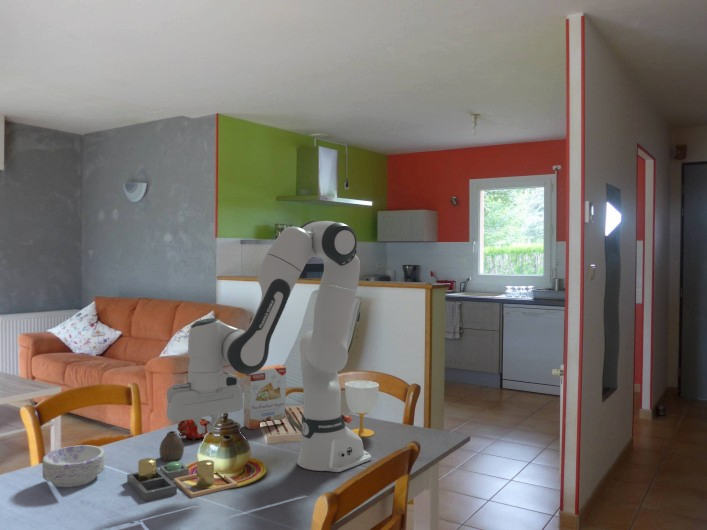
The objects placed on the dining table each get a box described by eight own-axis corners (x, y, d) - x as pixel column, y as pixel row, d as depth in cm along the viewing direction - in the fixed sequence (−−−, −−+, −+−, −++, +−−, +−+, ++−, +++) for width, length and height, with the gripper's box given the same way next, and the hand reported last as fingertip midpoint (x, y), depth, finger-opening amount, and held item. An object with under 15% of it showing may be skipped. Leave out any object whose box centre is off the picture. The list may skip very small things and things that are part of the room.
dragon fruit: (173, 445, 199) (209, 445, 205) (180, 435, 193) (217, 436, 199) (173, 420, 204) (208, 421, 210) (180, 410, 198) (216, 411, 204)
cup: (357, 426, 217) (357, 378, 217) (384, 432, 210) (385, 383, 210) (337, 434, 208) (338, 384, 207) (365, 440, 201) (366, 389, 200)
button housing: (180, 472, 171) (180, 461, 171) (188, 479, 166) (188, 468, 166) (159, 477, 168) (159, 466, 168) (167, 484, 163) (167, 473, 163)
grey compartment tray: (157, 478, 166) (157, 468, 166) (176, 497, 154) (176, 486, 154) (127, 485, 161) (127, 474, 161) (145, 505, 149) (145, 493, 149)
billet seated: (152, 478, 164) (152, 456, 163) (158, 484, 160) (158, 461, 160) (136, 482, 161) (136, 460, 161) (141, 487, 158) (141, 465, 157)
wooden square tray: (217, 475, 170) (217, 468, 170) (237, 489, 159) (237, 483, 159) (173, 485, 162) (173, 478, 162) (191, 501, 152) (191, 494, 152)
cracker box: (250, 430, 211) (250, 370, 210) (243, 426, 216) (243, 367, 215) (286, 424, 219) (286, 366, 218) (278, 420, 224) (278, 363, 223)
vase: (176, 466, 176) (176, 436, 175) (155, 464, 177) (155, 434, 177) (187, 458, 182) (188, 429, 182) (166, 456, 184) (166, 427, 184)
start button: (178, 471, 170) (178, 460, 170) (183, 475, 167) (183, 464, 166) (164, 474, 167) (164, 463, 167) (169, 478, 164) (169, 467, 164)
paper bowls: (74, 498, 153) (74, 467, 153) (29, 489, 158) (28, 459, 158) (117, 476, 168) (117, 448, 167) (74, 469, 173) (74, 441, 172)
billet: (209, 480, 164) (210, 458, 164) (216, 486, 160) (216, 463, 160) (194, 484, 161) (194, 462, 161) (200, 489, 158) (200, 467, 158)
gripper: (171, 388, 151) (171, 443, 152) (245, 377, 163) (245, 428, 164) (162, 383, 156) (163, 436, 157) (235, 373, 169) (235, 422, 169)
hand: (206, 432), depth 161 cm, fingers closed
